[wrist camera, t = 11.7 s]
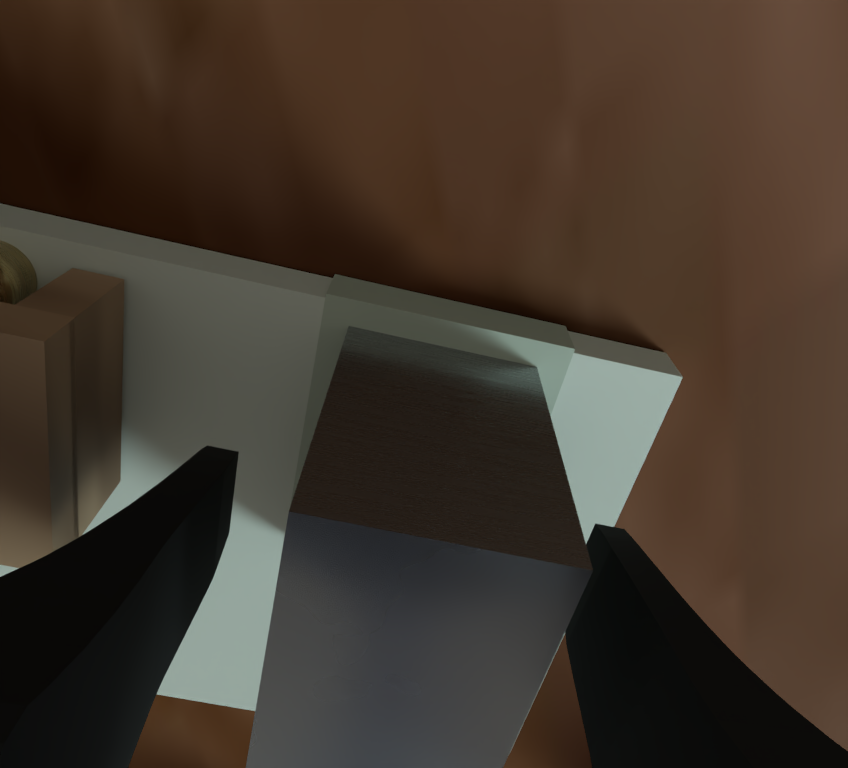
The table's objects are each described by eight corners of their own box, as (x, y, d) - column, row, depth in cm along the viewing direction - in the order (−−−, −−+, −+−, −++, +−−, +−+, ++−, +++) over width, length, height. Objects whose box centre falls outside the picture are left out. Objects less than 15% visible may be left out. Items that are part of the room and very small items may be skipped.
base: (505, 717, 21) (515, 824, 18) (-53, 620, 20) (-136, 718, 17) (667, 348, 15) (719, 422, 12) (-119, 171, 14) (-264, 208, 11)
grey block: (464, 576, 17) (474, 827, 12) (306, 545, 16) (241, 790, 11) (536, 366, 14) (593, 570, 9) (348, 325, 14) (288, 512, 8)
